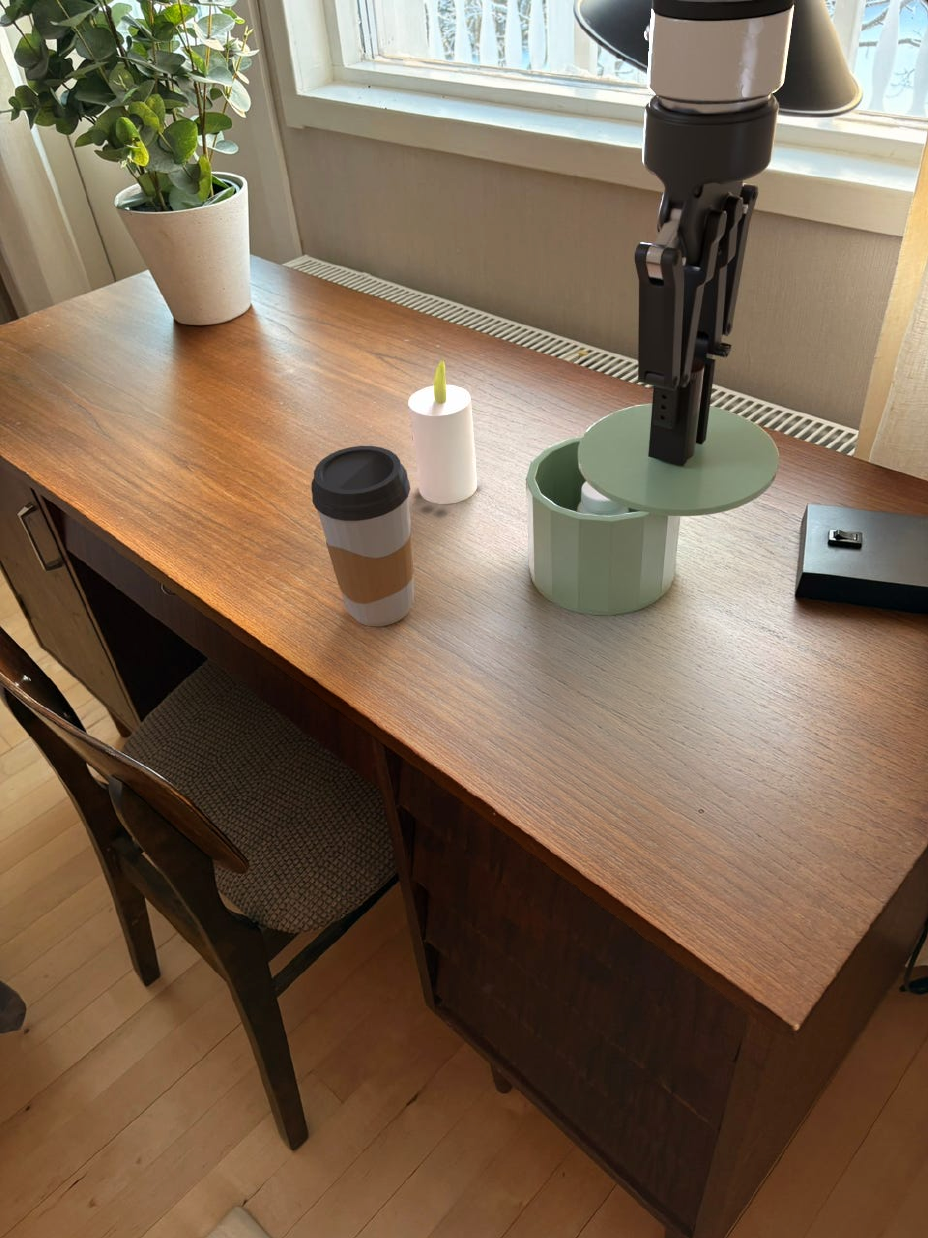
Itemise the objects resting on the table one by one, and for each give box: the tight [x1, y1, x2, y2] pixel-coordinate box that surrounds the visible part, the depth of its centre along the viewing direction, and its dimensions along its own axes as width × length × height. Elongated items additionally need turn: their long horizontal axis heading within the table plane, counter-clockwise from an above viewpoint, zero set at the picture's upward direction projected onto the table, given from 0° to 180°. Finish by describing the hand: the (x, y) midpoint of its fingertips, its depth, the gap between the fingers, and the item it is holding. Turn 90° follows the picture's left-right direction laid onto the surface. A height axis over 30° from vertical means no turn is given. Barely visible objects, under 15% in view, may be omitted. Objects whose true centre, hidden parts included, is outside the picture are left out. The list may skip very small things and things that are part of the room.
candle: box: [407, 359, 478, 505], centre depth 97 cm, size 6×6×15 cm
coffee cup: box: [310, 445, 415, 627], centre depth 83 cm, size 8×8×15 cm
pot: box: [525, 436, 681, 616], centre depth 86 cm, size 14×14×10 cm
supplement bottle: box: [577, 481, 629, 516], centre depth 87 cm, size 5×5×8 cm
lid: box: [578, 357, 780, 517], centre depth 68 cm, size 15×15×8 cm
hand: (677, 447), depth 70 cm, fingers closed on lid, 3 cm apart
